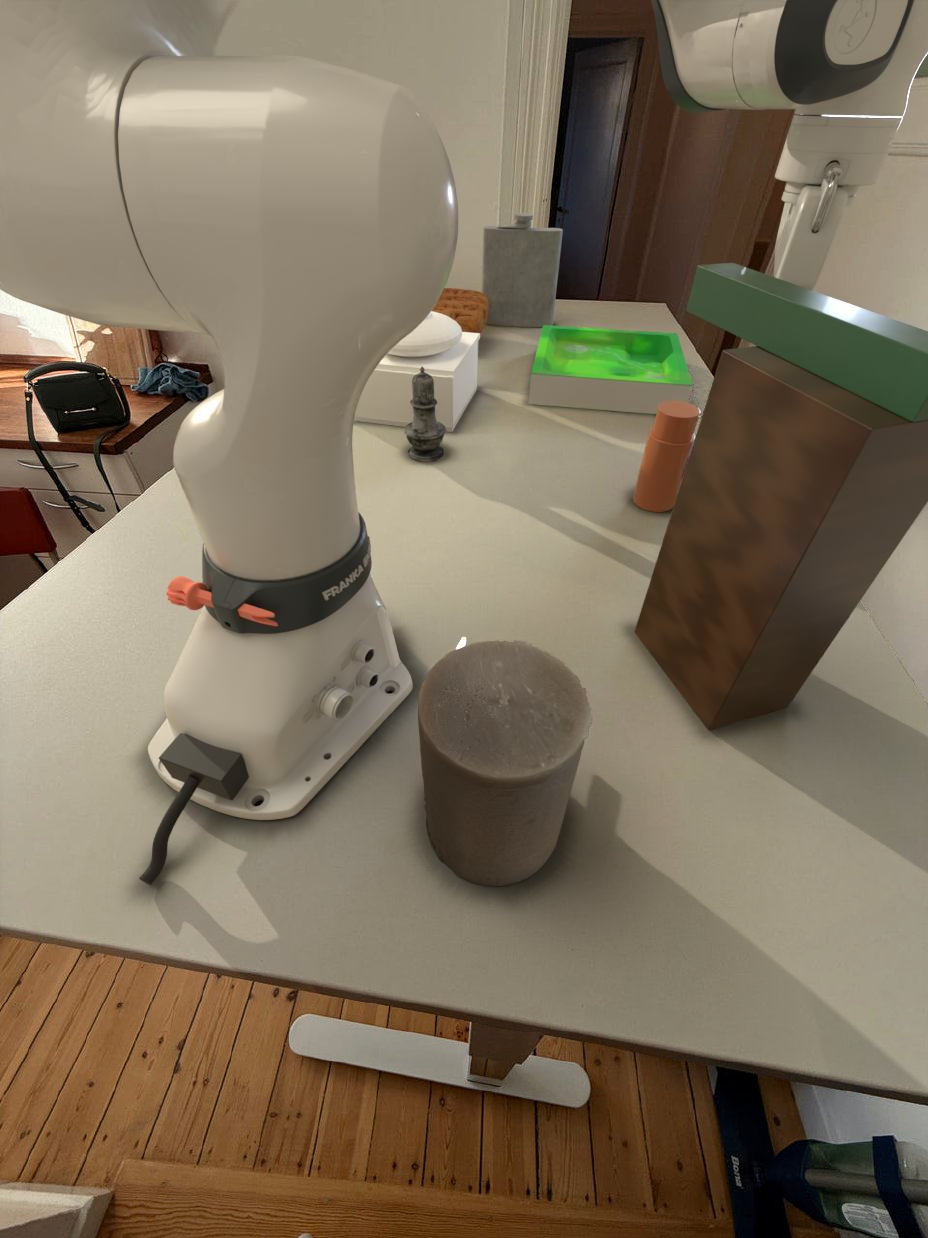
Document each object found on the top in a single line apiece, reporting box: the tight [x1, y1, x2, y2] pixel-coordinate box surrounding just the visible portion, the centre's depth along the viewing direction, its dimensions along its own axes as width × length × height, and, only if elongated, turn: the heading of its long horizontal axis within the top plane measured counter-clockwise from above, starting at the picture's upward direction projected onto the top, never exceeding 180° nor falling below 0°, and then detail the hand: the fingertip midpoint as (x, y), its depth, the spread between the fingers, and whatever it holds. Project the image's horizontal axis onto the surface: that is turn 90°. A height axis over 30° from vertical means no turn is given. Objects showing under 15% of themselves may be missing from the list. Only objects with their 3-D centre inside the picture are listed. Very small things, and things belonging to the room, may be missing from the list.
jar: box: [632, 401, 702, 513], centre depth 67 cm, size 5×5×12 cm
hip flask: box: [481, 212, 564, 328], centre depth 116 cm, size 16×4×20 cm, turn 83°
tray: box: [528, 325, 693, 415], centre depth 98 cm, size 25×25×5 cm
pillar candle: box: [417, 639, 593, 887], centre depth 35 cm, size 10×10×15 cm
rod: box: [685, 262, 928, 422], centre depth 34 cm, size 20×3×3 cm, turn 18°
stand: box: [634, 345, 928, 731], centre depth 42 cm, size 12×8×26 cm, turn 18°
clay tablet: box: [432, 287, 489, 336], centre depth 111 cm, size 22×17×8 cm
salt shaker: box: [403, 367, 447, 463], centre depth 75 cm, size 6×6×12 cm
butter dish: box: [354, 311, 481, 433], centre depth 87 cm, size 18×18×16 cm
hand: (773, 319), depth 61 cm, fingers open, 8 cm apart
